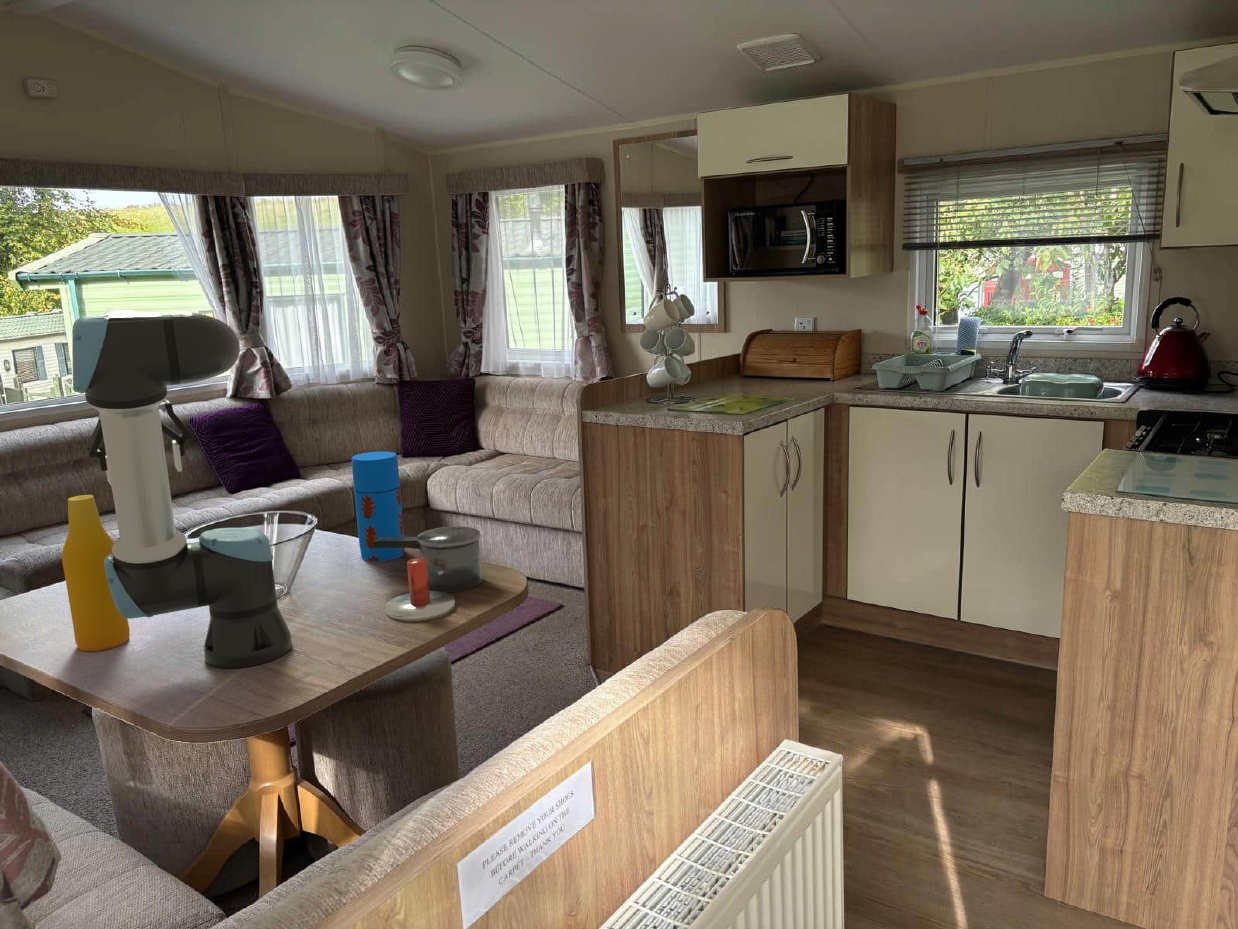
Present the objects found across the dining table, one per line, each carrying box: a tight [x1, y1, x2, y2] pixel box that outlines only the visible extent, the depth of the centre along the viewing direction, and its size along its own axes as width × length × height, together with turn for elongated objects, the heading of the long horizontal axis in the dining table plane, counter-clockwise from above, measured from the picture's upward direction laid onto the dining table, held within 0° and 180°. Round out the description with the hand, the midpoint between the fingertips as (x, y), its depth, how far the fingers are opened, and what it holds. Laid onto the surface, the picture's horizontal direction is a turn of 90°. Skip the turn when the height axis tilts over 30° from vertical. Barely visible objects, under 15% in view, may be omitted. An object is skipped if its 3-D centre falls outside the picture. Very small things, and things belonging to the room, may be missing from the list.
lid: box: [385, 557, 456, 623], centre depth 190 cm, size 14×14×10 cm
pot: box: [374, 525, 483, 593], centre depth 206 cm, size 14×23×11 cm, turn 87°
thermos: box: [351, 451, 406, 562], centre depth 226 cm, size 11×11×25 cm
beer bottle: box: [61, 494, 131, 652], centre depth 176 cm, size 9×9×29 cm
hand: (145, 475), depth 201 cm, fingers open, 13 cm apart
